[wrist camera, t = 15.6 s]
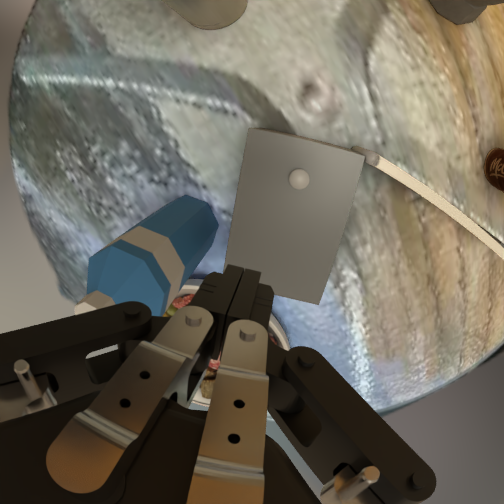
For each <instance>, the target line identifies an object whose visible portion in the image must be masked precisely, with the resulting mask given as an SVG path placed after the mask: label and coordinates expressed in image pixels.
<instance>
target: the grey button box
mask: <svg viewBox="0 0 504 504" xmlns="http://www.w3.org/2000/svg"><path fill="white" fill-rule="evenodd" d="M364 159H365V156H364V155H361V154H359V153H357V152H355V151H353V150H350V149H347V148H344V147H340V146H337V145H333V144H329V143H326V142H322V141H318V140H314V139H310V138H306V137H302V136H297V135H293V134H289V133H284V132H279V131H275V130H270V129H265V128H249V130H248V135H247V141H246V146H245V151H244V156H243V162H242V167H241V172H240V178H239V183H238V189H237V194H236V200H235V205H234V211H233V217H232V223H231V228H230V234H229V240H228V246H227V252H226V258H225V264H224V270H223V273H224V271H225V269H226V267H227V265H228V264H231V265H235V266H239V267H243V268H244V271H245V268H247V269H251V270H256V271H260V272H262V273H261V277H260V282H259V283H262V284H266V285H270V286H271V287H272V289H273V291H274V295H278V296H282V297H286V298H291V299H295V300H299V301H304V302H308V303H312V304H317V305H319V303H320V300H321V297H322V295H323V292H324V289H325V286H326V283H327V281H328V278H329V275H330V272H331V269H332V266H333V263H334V260H335V257H336V254H337V251H338V248H339V245H340V242H341V239H342V236H343V233H344V229H345V226H346V223H347V220H348V216H349V213H350V210H351V206H352V203H353V199H354V196H355V192H356V189H357V185H358V182H359V178H360V174H361V170H362V167H363V163H364Z"/></svg>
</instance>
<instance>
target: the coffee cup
mask: <svg viewBox="0 0 504 504" xmlns="http://www.w3.org/2000/svg"><path fill="white" fill-rule="evenodd" d="M484 172H485V176H486V178H487V179H488V181H489V182H490V183H491V184H492V185H493V186H494V187H496V188H497V189H498V190H500V191H502V192H504V149H500V148H495V149H492V150H490V151H489V153H488V154H487V157H486V160H485V164H484Z"/></svg>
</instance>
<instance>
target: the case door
mask: <svg viewBox="0 0 504 504" xmlns="http://www.w3.org/2000/svg"><path fill="white" fill-rule="evenodd" d="M351 150H353V151H355V152H357V153H359V154H361V155H364V156H365V159H364V161H365V162H366V163H368V164H370V165H372V166H374V167H376V168H378V169H379V170H381V171H383V172H384V173H386V174H388V175H389V176H391V177H393V178H394V179H396V180H397V181H399V182H400V183H402V184H404V185H405V186H407V187H408V188H410V189H411V190H413V191H414V192H416V193H417V194H419V195H420V196H422V197H423V198H425V199H426V200H428V201H429V202H431V203H432V204H433V205H435V206H436V207H438V208H439V209H440V210H442V211H443V212H445V213H446V214H447V215H449V216H450V217H451V218H453V219H454V220H455V221H457V222H458V223H459V224H461V225H462V226H463V227H464V228H466V229H467V230H468V231H470V232H471V233H472V234H473V235H475V236H476V237H477V238H478V239H480V240H481V241H482V242H483V243H484V244H486V245H487V246H488V247H489V248H490V249H492V250H493V251H494V252H495V253H496V254H498V255H499V256H500V257H501V258H502V259H503V260H504V244H503V243H502V242H501V241H500V240H498V239H497V238H496V237H494V236H493V235H492V234H490V233H489V232H488V231H486V230H485V229H483V228H482V227H481V226H479V225H477V224H476V223H474V222H473V221H472V220H471V219H470V218H468V217H467V216H466V215H465V214H463V213H462V212H461V211H459V210H458V209H457V208H456V207H454V206H453V205H452V204H450V203H449V202H448V201H446V200H445V199H444V198H442V197H441V196H440V195H438V194H437V193H435V192H434V191H433V190H431V189H430V188H428V187H427V186H426V185H424V184H423V183H421V182H420V181H418V180H417V179H415V178H414V177H412V176H411V175H409V174H408V173H406V172H405V171H403V170H402V169H400V168H398V167H397V166H395V165H394V164H392V163H391V162H389V161H387V160H386V159H384V158H382V157H381V156H380V155H379V154H377V153H375V152H372V151H370V150H367V149H364V148H361V147H358V146H354V147H353V148H352V149H351Z"/></svg>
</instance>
